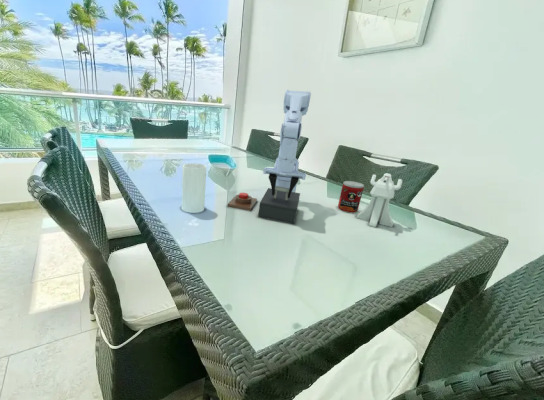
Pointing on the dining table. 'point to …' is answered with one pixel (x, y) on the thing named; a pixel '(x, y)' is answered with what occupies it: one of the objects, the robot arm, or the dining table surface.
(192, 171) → the cup
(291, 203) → the lid
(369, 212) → the white mech figurine
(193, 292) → the dining table surface
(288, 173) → the robot arm
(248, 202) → the control block
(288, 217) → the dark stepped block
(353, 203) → the canned food
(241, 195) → the button
